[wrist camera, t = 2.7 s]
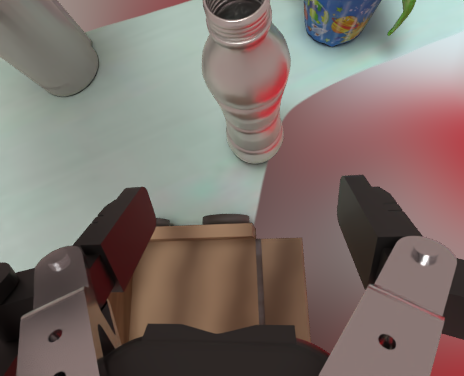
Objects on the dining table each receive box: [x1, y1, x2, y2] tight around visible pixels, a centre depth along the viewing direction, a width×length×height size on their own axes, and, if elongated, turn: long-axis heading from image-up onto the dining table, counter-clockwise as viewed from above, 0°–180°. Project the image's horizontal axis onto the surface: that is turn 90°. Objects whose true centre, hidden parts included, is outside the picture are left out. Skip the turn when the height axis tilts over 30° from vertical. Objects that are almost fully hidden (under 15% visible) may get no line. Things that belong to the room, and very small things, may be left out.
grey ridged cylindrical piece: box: [202, 0, 291, 164], centre depth 24 cm, size 6×7×20 cm
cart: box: [108, 214, 311, 344], centre depth 27 cm, size 20×17×6 cm
